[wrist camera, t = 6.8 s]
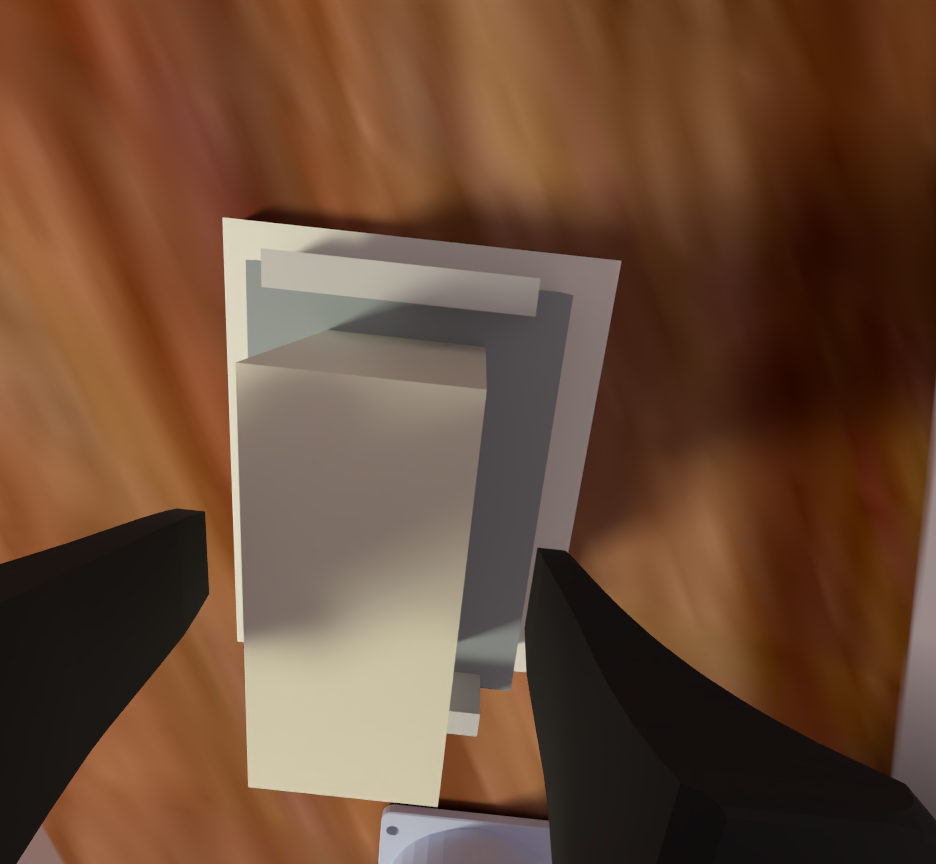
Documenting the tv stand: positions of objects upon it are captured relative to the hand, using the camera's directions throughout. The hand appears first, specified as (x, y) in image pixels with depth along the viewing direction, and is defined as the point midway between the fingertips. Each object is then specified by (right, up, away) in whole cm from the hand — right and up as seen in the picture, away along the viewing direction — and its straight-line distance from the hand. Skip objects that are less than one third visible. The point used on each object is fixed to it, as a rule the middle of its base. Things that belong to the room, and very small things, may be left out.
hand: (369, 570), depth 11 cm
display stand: (0, +2, +6) cm, 6 cm away
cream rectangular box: (0, +1, +3) cm, 3 cm away
